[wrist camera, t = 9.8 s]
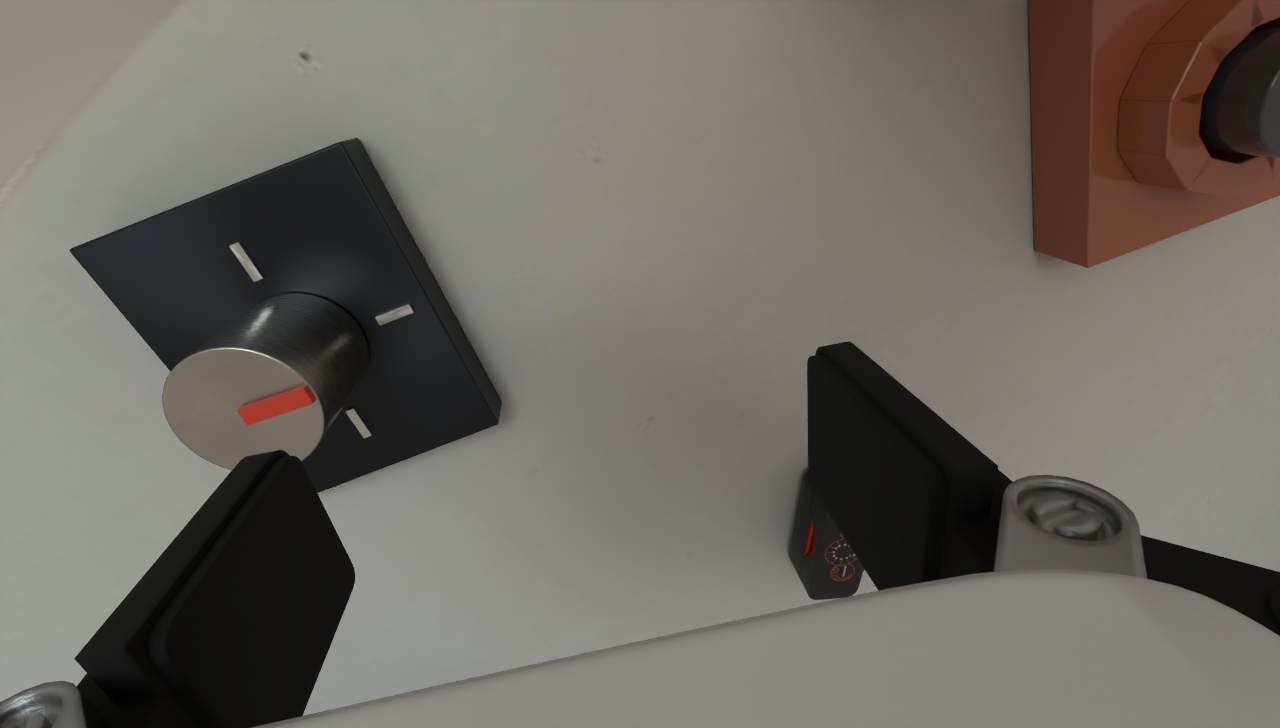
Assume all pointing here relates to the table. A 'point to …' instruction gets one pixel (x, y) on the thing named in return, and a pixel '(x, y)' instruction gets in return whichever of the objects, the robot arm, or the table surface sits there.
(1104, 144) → the push button box
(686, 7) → the table surface
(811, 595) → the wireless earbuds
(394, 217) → the panel
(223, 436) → the dial
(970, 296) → the table surface
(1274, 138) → the button
